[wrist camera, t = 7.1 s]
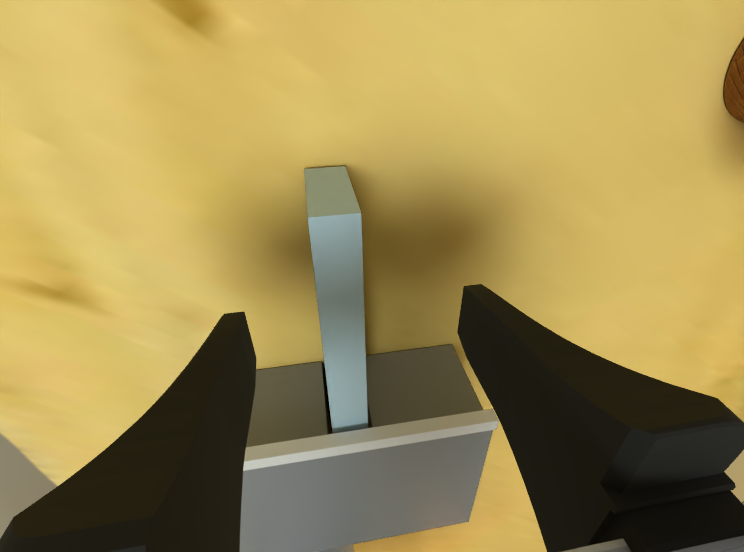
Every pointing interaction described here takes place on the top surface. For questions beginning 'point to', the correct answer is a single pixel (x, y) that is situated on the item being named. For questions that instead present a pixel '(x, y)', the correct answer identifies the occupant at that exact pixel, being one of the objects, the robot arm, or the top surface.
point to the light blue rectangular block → (339, 292)
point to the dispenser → (362, 454)
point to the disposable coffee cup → (735, 85)
